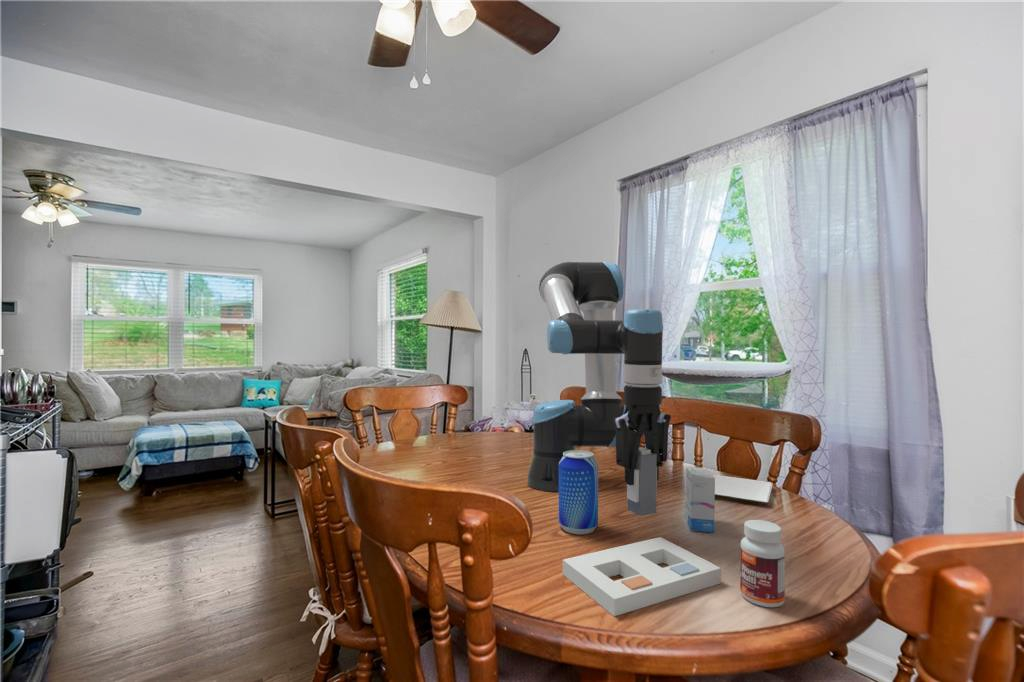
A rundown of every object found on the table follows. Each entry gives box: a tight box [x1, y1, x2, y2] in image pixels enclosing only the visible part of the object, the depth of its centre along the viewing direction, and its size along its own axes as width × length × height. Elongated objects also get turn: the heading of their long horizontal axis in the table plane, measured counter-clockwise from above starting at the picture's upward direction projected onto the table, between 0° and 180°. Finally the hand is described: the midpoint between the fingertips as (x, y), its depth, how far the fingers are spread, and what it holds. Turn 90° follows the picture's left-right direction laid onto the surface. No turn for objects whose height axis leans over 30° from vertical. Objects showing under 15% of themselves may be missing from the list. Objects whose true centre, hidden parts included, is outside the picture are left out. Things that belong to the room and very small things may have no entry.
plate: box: [711, 473, 774, 505], centre depth 127 cm, size 19×19×2 cm
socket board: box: [562, 536, 722, 617], centre depth 80 cm, size 14×22×3 cm, turn 116°
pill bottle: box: [739, 519, 786, 608], centre depth 74 cm, size 6×6×11 cm
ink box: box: [684, 466, 716, 533], centre depth 104 cm, size 9×5×12 cm, turn 168°
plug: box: [627, 447, 657, 517], centre depth 97 cm, size 4×4×13 cm
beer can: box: [558, 449, 599, 535], centre depth 102 cm, size 8×8×16 cm
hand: (641, 498), depth 97 cm, fingers closed on plug, 4 cm apart
